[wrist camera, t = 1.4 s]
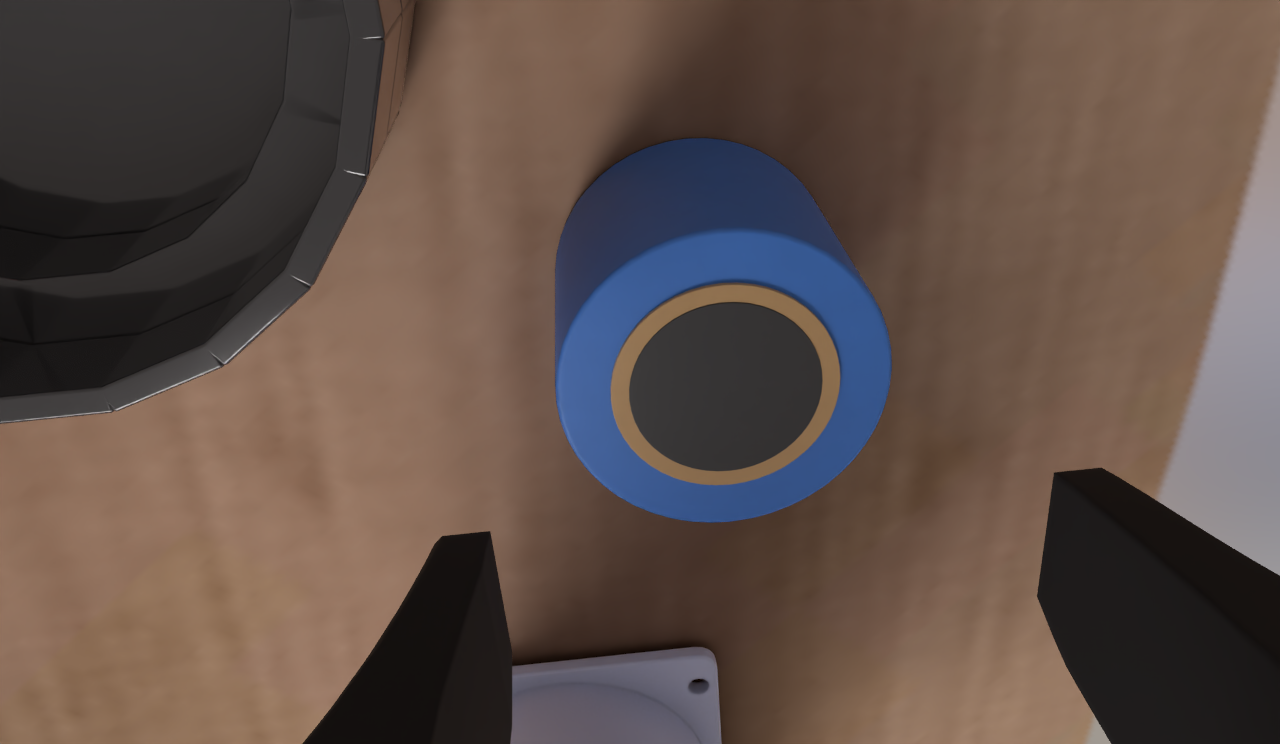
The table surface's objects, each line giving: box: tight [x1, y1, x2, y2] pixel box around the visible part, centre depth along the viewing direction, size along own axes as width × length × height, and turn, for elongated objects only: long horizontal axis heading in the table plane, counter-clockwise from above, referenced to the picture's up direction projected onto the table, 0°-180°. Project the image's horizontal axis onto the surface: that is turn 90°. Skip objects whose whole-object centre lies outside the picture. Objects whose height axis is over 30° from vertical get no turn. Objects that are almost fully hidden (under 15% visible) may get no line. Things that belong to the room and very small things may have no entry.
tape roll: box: [555, 138, 892, 523], centre depth 20 cm, size 6×6×5 cm
